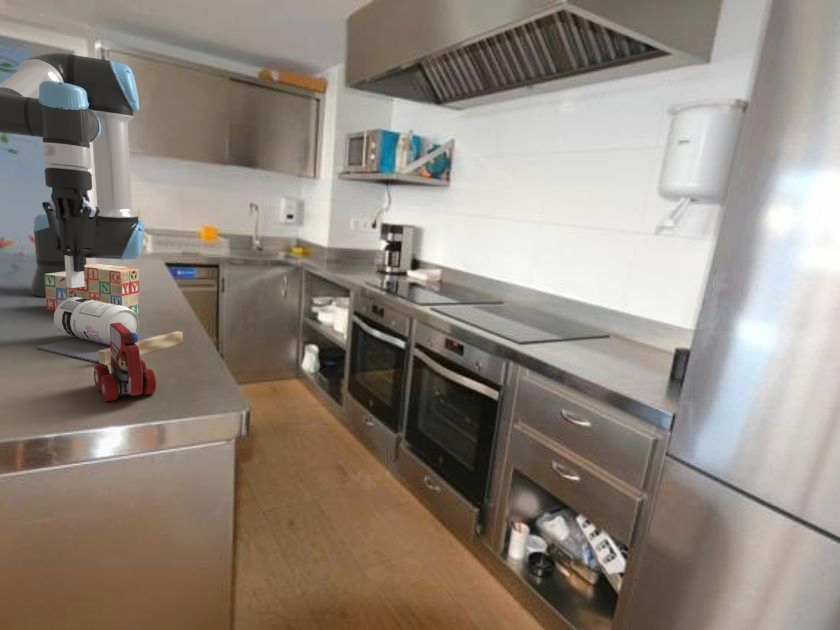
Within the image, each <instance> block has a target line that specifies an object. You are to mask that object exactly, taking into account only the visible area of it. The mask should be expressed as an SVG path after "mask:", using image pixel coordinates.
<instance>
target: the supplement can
mask: <svg viewBox="0 0 840 630" xmlns="http://www.w3.org/2000/svg"><path fill="white" fill-rule="evenodd" d="M53 323H54V326H55V328H56V330H57V331H58V332H59V333H61V334H63V335H65V336H70V337H74V338H81V339H86V340H90V341H94V342H98V343H103V344H107V345H110V333H109V332H110V330H109V327H110V324H111V323H121V324H123V325H124V326H125V327H126V328H127V329H129V330H130V331H131V332H132V333H135V334H136V335H137V332H139V331H140V330H139V329H140V321H139V317H138V316H136V314H135V313H133V311H132V310H131V309H129V308H128V307H125V306H120V305H115V304H110V303H105V302H100V301H94V300H89V299H84V298H79V297H72V298H68V299H66V300H64V301H62V302H61V303H60V304H59V305H58V306H57V308H56V311H54V313H53Z"/></svg>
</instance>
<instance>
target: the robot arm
mask: <svg viewBox="0 0 840 630" xmlns="http://www.w3.org/2000/svg"><path fill="white" fill-rule="evenodd" d="M137 88H138V87H137V84H136V80H135V75H134V73H133V70H132V69H131V67H130V66H128V65H127V64H125V63H120V62H117V61H113V60H106V59H101V58H95V57H89V56H82V55H76V54H71V53H67V52H66V53H65V52H51V53H44V54H38V55H35V56H32V57H29V58H27V59H25V60H23V61H22V62H21V63H19V65H18V66H17V68H16V72H15V73H14V74H12V75H11V76H9V77H8V78H7V79H5V80H4V81H2V82H0V134H9V135H19V136H27V137H34V138H35V137H37V138H42V145H43V146H42V147H43V150H42V151H43V162H44V164H45V165H47V166H48V167H45V168H44V180H45V183H44V184H45V186H46V187H47V188H51V194H50V198H51V199H50V200H49V201H43V202H41V203H42V208H43V210H44V212H45V213H40V214H38V215H36V216H34V219H33V230H32V231H33V232H32V233H34V234H33V235H34V245H35V248H34V249H35V260H36V269H35V272H34V275H33V277H32V282H31V285H30V293H31V295H32V296H36V297H41V298H43V297H44V298H46V288H45V287H46V286H45V282H44V274H50V273H57V272H66V286H67V287H69V288H76V287H85V283H84V270H85V265H88V264H87V263H88V262H87V259H104V260H105V259H107V260H108V259H109V260H121V261H123V260H136V259H138V258H140V256H141V254H142V249H143V244H144V238H145V237H144V236H145V222H144V221H142V220H139V214H138V213H137V212H136V211H135V210H134V209H133V206H132V205H133V202H132V187H131V186H132V185H131V184H132V183H131V166H130V162H131V161H130V148H129V147H130V146H129V145H130V144H129V128H128V127H129V125H128V124H129V122H130V121H131V120H133V119H134V112H138V111H139V110H140V103H139V102H140V101H139V99H140V98H139V94H138V89H137ZM91 143H92V150H93V165H94V176H95V177H94V179H95V191H96V192H95V193H96V206H93V205H92V203H90V201H91V200H90V197H89V195H88V191H92V189H93V177H92V176H93V175H92V173H91V171H88V170H90V169H91V168H92V155H91V154H92V152H91Z"/></svg>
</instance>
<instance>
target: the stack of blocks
mask: <svg viewBox="0 0 840 630" xmlns="http://www.w3.org/2000/svg"><path fill="white" fill-rule="evenodd" d="M139 273H140V272H139V268H132V267H131V268H130V267H128V266H121V265H110V264H103V263H102V264H101V263H91V264H90V263H89V264H87V265H85V270H84V283H85V287H76V288H69V287H67V286H66V272H57V273H50V274H44V282H45V286H46V287H45V288H46V297H45V299H46V309H47V311H54V312H55V311H56V308H57V306H58V305H59V304H60V303H61V302H62V301H64V300H66V299H68V298H72V297H79V298H84V299H89V300H94V301H100V302H105V303H110V304H115V305H120V306H125V307H128V308H129V309H131V310H132V311H133V313H135V314H136V315H138V314H139V315H140V279H139V278H140V277H139V275H140V274H139ZM139 315H138V316H139Z"/></svg>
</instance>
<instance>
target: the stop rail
mask: <svg viewBox="0 0 840 630" xmlns="http://www.w3.org/2000/svg"><path fill="white" fill-rule="evenodd" d="M183 334H184V333H183V331H178V330H176V331H173V332H168V333H165V334H160V335H155V336H156V337H152V338H148V339H144V340H140V341H138V342H137V343H135V344H136V345H137V346H138V348H139V353H140V356H143V355H146V354H149V353H152V352H156V351H160V350H163V349H167V348H171V347H173V346H177V345H180V344H181V345H182V344H183V343H184V338H183V337H184V335H183ZM110 350H111V349H110V348H108V349H104V350H100V351H98V355H99V363H102V364H101V365H103V364H107V365H110V364H109V363H111V357H110ZM99 363H98V364H99Z"/></svg>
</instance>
